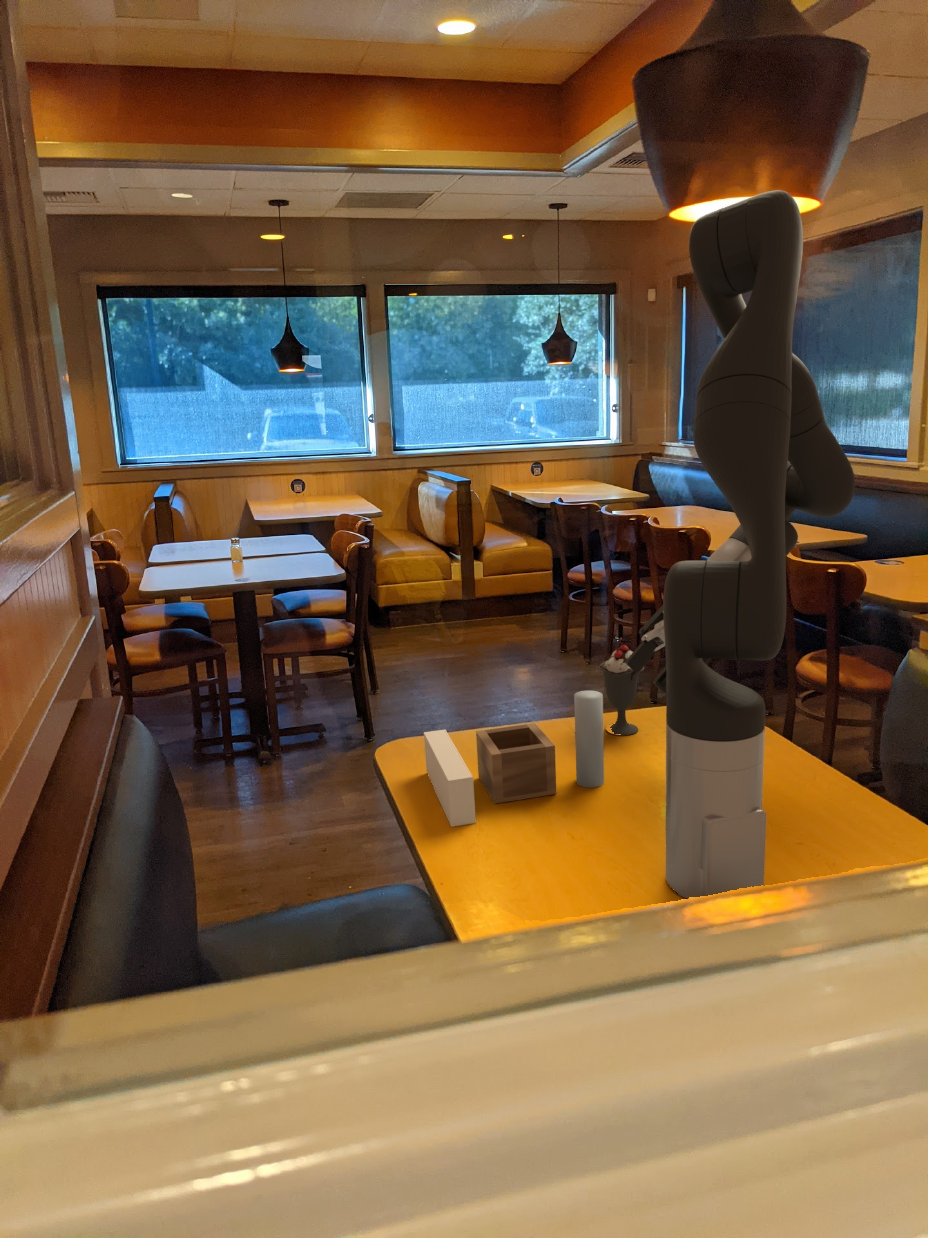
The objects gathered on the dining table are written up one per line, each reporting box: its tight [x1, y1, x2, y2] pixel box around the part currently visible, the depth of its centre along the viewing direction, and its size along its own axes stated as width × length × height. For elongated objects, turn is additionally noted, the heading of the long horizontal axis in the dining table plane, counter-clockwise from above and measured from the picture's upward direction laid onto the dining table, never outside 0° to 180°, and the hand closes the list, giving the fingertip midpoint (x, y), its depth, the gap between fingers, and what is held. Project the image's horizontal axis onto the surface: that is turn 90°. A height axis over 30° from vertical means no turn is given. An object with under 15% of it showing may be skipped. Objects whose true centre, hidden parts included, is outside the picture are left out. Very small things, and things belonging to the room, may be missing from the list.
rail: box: [423, 729, 477, 828], centre depth 106 cm, size 16×3×6 cm, turn 13°
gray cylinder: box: [573, 690, 605, 789], centre depth 108 cm, size 4×4×12 cm
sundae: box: [598, 637, 645, 737], centre depth 124 cm, size 7×7×15 cm
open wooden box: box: [475, 722, 557, 804], centre depth 108 cm, size 8×8×7 cm
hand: (644, 677), depth 107 cm, fingers open, 8 cm apart
